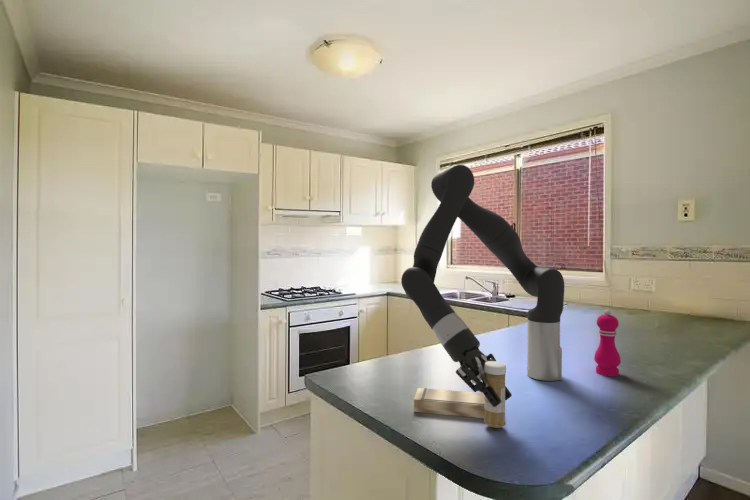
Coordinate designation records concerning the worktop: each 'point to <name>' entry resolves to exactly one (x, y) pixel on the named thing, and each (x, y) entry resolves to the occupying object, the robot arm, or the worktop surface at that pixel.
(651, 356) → the worktop surface
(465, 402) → the maple plank
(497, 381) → the sprinkles bottle
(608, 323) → the pepper mill
